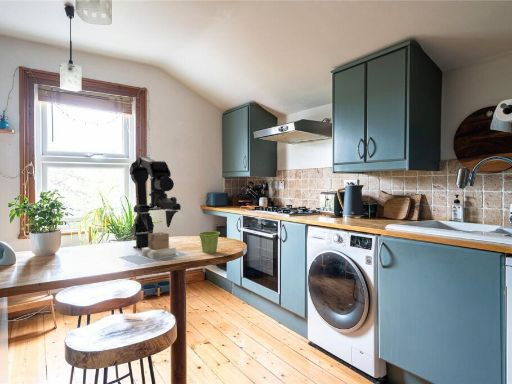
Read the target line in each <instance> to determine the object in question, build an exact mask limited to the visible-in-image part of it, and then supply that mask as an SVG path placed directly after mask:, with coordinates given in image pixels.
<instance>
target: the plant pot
mask: <svg viewBox="0 0 512 384" xmlns="http://www.w3.org/2000/svg"><path fill="white" fill-rule="evenodd" d="M220 234H221V232H220V231H211V230H210V231H201V232H198V236H199V239H200V242H201V243H200V244H201V250H202V253H204V254H205V253H207V254H208V253H209V254H210V253H217V252H216V251H217V250H218V243H219V242H218V241H219V236H220Z"/></svg>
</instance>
